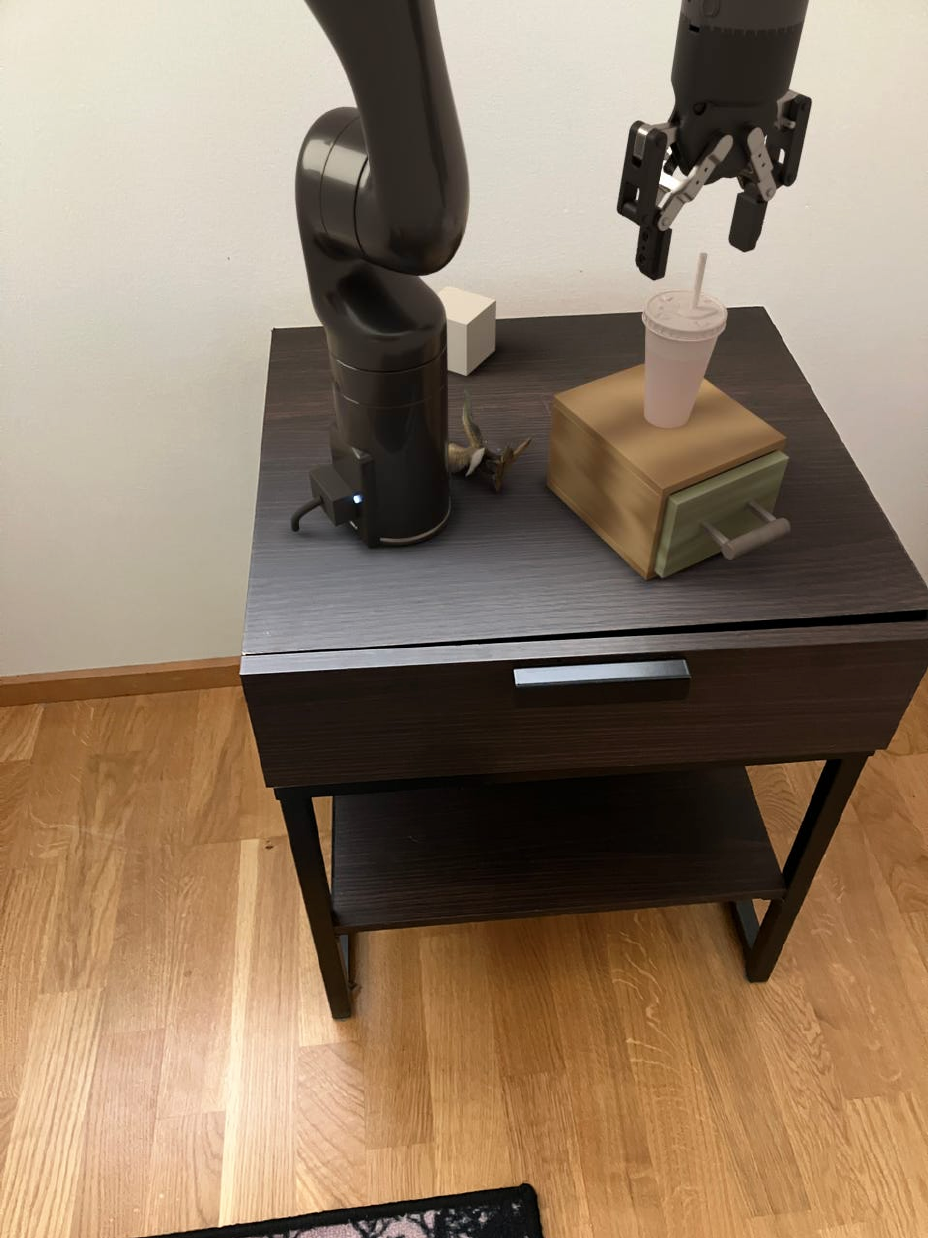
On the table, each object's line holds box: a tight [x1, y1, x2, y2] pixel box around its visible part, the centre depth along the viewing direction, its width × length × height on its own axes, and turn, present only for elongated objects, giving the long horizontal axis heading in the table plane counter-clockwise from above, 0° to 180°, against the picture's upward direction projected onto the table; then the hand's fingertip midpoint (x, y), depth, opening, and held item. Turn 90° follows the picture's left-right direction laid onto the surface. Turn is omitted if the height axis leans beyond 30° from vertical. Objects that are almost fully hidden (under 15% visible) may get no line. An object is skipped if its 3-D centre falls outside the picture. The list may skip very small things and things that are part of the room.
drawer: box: [654, 450, 791, 579], centre depth 81 cm, size 18×12×8 cm, turn 31°
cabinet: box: [546, 362, 787, 581], centre depth 84 cm, size 15×13×10 cm
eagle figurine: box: [449, 389, 533, 492], centre depth 89 cm, size 8×7×9 cm
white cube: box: [436, 285, 497, 377], centre depth 103 cm, size 6×6×6 cm
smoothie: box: [641, 252, 729, 429], centre depth 75 cm, size 6×6×14 cm
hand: (696, 261), depth 70 cm, fingers open, 8 cm apart
